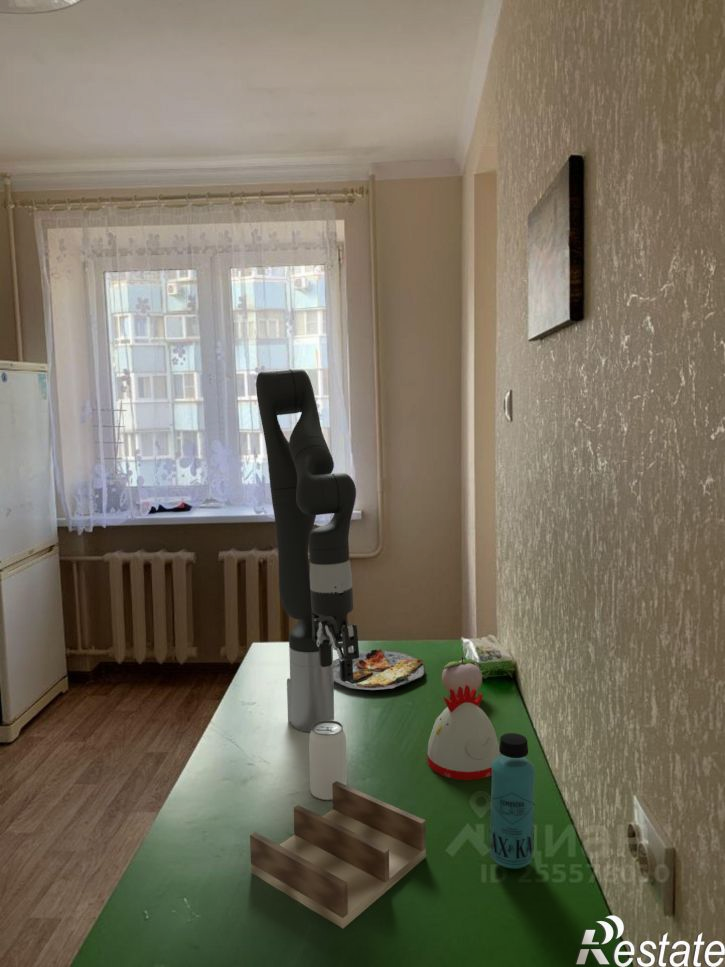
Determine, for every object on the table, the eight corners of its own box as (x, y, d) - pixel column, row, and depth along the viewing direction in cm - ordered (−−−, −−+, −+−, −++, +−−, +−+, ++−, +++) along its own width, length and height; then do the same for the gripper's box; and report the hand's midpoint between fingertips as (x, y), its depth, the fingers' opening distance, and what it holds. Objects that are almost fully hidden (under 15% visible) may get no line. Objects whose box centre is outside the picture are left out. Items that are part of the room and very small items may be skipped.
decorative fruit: (458, 710, 161) (458, 667, 160) (436, 697, 168) (435, 655, 167) (490, 701, 166) (491, 658, 165) (468, 688, 173) (468, 648, 172)
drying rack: (251, 872, 107) (249, 835, 107) (337, 814, 122) (336, 781, 121) (343, 928, 96) (342, 886, 95) (425, 857, 110) (425, 820, 110)
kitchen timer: (414, 752, 143) (414, 679, 141) (474, 738, 148) (474, 667, 146) (451, 787, 130) (451, 707, 128) (515, 770, 136) (516, 693, 134)
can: (342, 803, 125) (341, 737, 124) (306, 799, 127) (304, 734, 125) (350, 783, 132) (349, 720, 130) (315, 780, 133) (314, 717, 131)
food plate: (379, 650, 199) (378, 638, 198) (443, 674, 182) (443, 661, 181) (307, 678, 182) (306, 664, 182) (371, 707, 165) (370, 692, 165)
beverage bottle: (484, 852, 111) (485, 728, 109) (526, 849, 112) (528, 726, 109) (495, 881, 105) (496, 749, 102) (540, 877, 105) (542, 746, 103)
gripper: (296, 581, 134) (301, 666, 136) (329, 597, 122) (335, 690, 124) (332, 574, 138) (337, 657, 140) (368, 589, 125) (373, 680, 127)
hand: (336, 672), depth 132 cm, fingers open, 8 cm apart
